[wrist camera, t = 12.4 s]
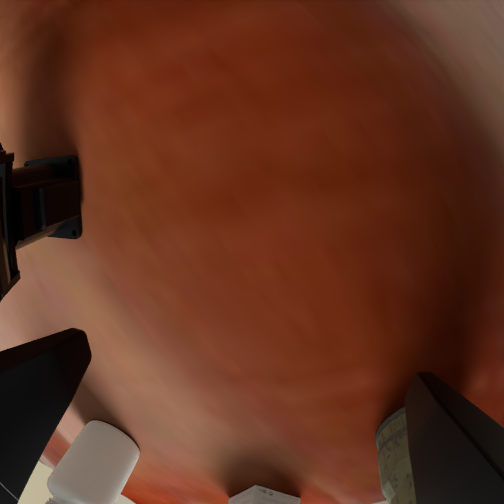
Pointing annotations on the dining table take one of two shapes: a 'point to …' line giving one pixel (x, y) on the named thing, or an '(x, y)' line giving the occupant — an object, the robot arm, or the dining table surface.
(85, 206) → the dining table surface
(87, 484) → the pill bottle
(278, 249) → the dining table surface
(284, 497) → the supplement box
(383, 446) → the thermos
